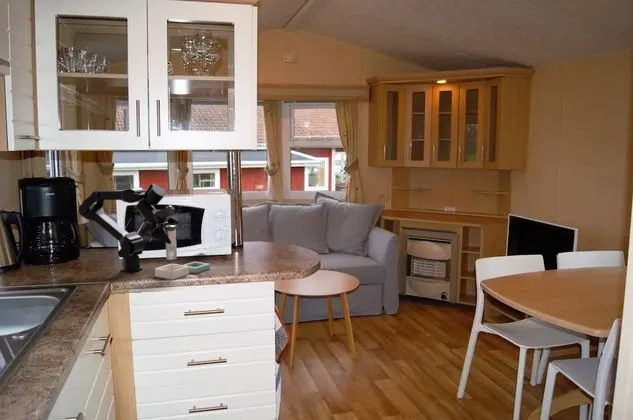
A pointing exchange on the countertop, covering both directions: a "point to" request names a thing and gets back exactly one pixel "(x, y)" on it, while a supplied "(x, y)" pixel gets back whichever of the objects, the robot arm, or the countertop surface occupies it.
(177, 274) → the tray
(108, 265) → the countertop surface
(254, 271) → the countertop surface
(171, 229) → the salt shaker
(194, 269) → the collar
